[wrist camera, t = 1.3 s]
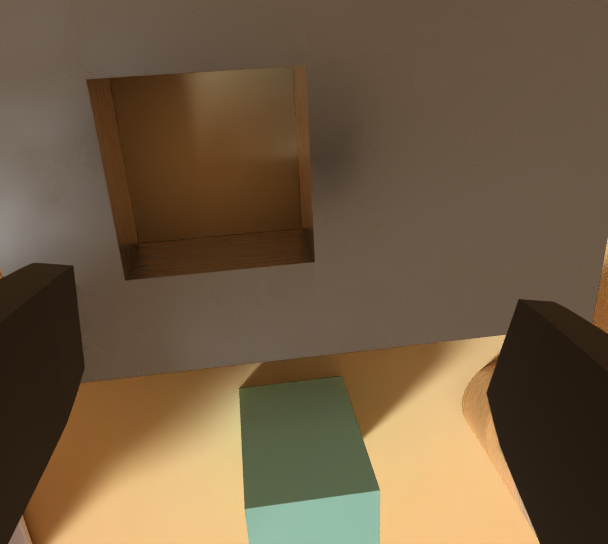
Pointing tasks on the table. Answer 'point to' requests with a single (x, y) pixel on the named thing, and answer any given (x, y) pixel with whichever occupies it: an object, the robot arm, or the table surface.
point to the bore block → (317, 173)
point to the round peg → (488, 428)
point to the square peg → (306, 466)
